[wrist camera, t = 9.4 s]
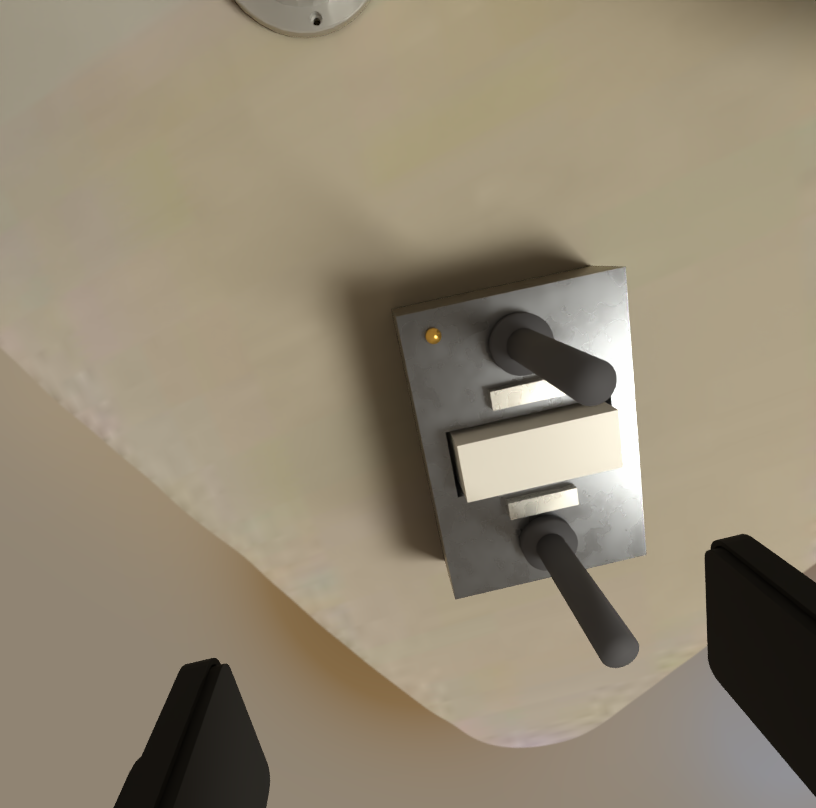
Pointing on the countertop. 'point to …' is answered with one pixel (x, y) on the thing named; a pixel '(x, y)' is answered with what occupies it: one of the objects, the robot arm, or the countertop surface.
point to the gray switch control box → (514, 396)
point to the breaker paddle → (535, 449)
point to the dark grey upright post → (550, 359)
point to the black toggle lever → (578, 588)
